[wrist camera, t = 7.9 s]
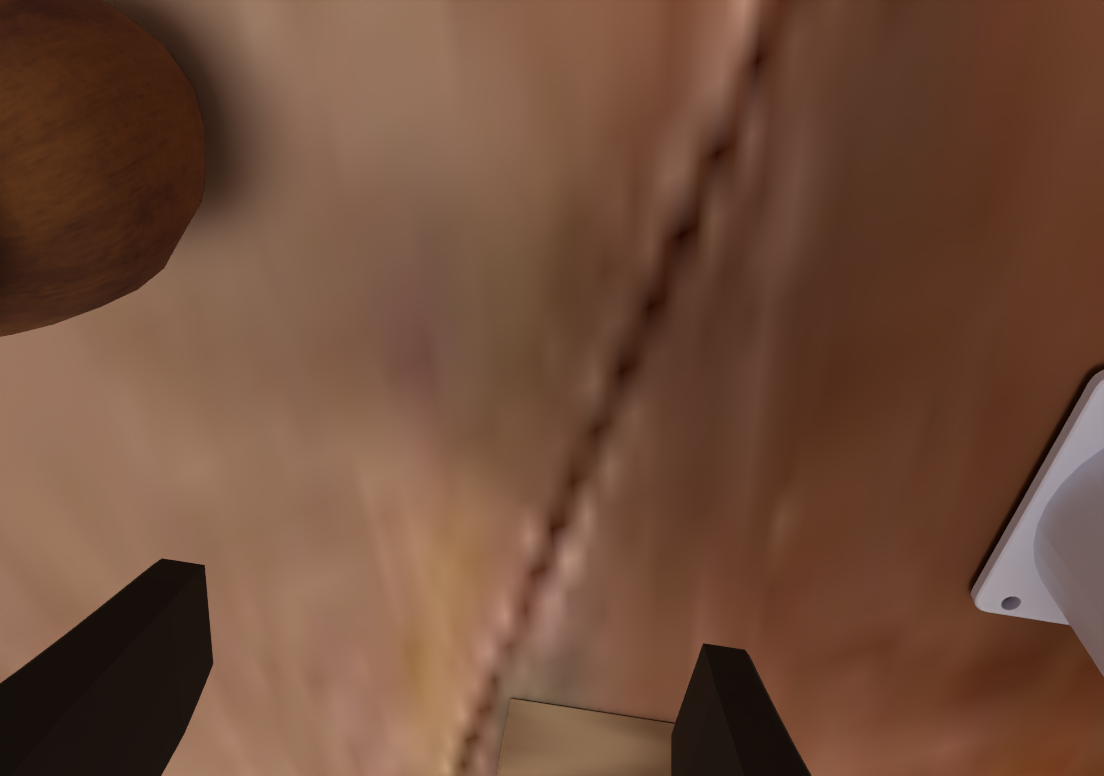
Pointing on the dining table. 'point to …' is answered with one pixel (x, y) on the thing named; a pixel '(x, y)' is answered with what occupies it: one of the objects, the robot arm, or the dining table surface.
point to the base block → (581, 743)
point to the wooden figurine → (89, 159)
